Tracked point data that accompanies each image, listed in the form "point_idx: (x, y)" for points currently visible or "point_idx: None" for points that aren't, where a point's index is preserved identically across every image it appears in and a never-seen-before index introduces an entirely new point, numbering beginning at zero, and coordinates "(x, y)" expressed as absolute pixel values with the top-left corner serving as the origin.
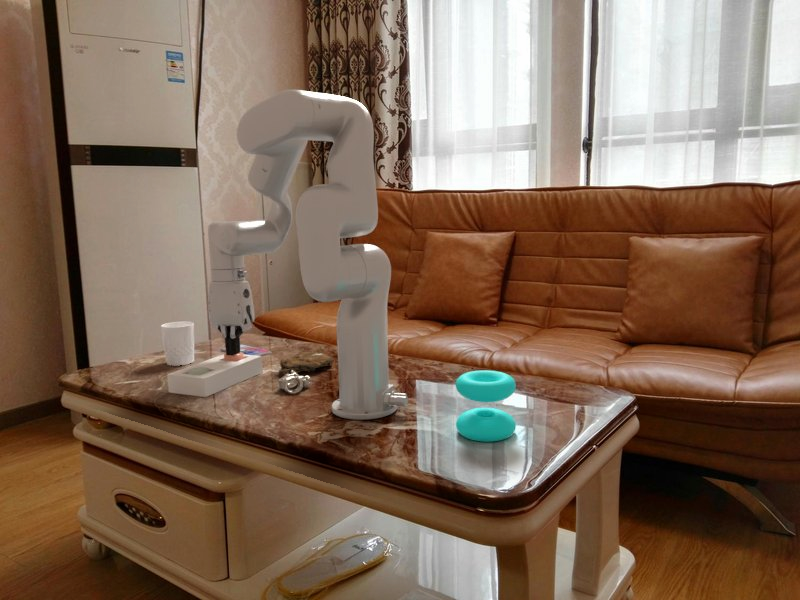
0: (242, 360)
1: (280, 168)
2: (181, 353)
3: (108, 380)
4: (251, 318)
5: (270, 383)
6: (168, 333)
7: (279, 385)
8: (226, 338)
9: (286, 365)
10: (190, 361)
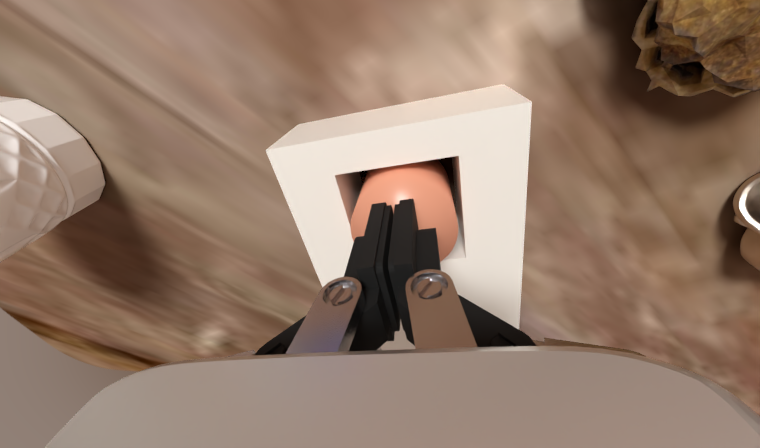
0: (481, 229)
1: None
2: (59, 208)
3: (160, 346)
4: (655, 403)
5: (644, 200)
6: None
7: (752, 265)
8: (391, 340)
9: (752, 88)
10: (82, 150)
